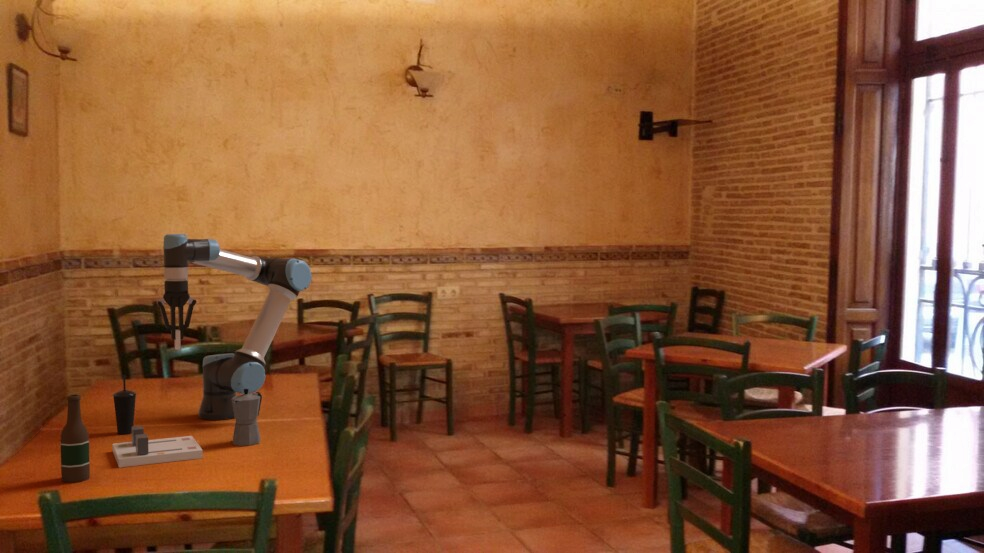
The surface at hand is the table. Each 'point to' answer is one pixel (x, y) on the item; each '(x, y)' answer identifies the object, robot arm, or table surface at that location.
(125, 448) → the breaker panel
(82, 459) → the beer bottle
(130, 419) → the drinking cup
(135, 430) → the on lever
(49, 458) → the table surface
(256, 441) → the coffeepot
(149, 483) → the table surface
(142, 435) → the lever
